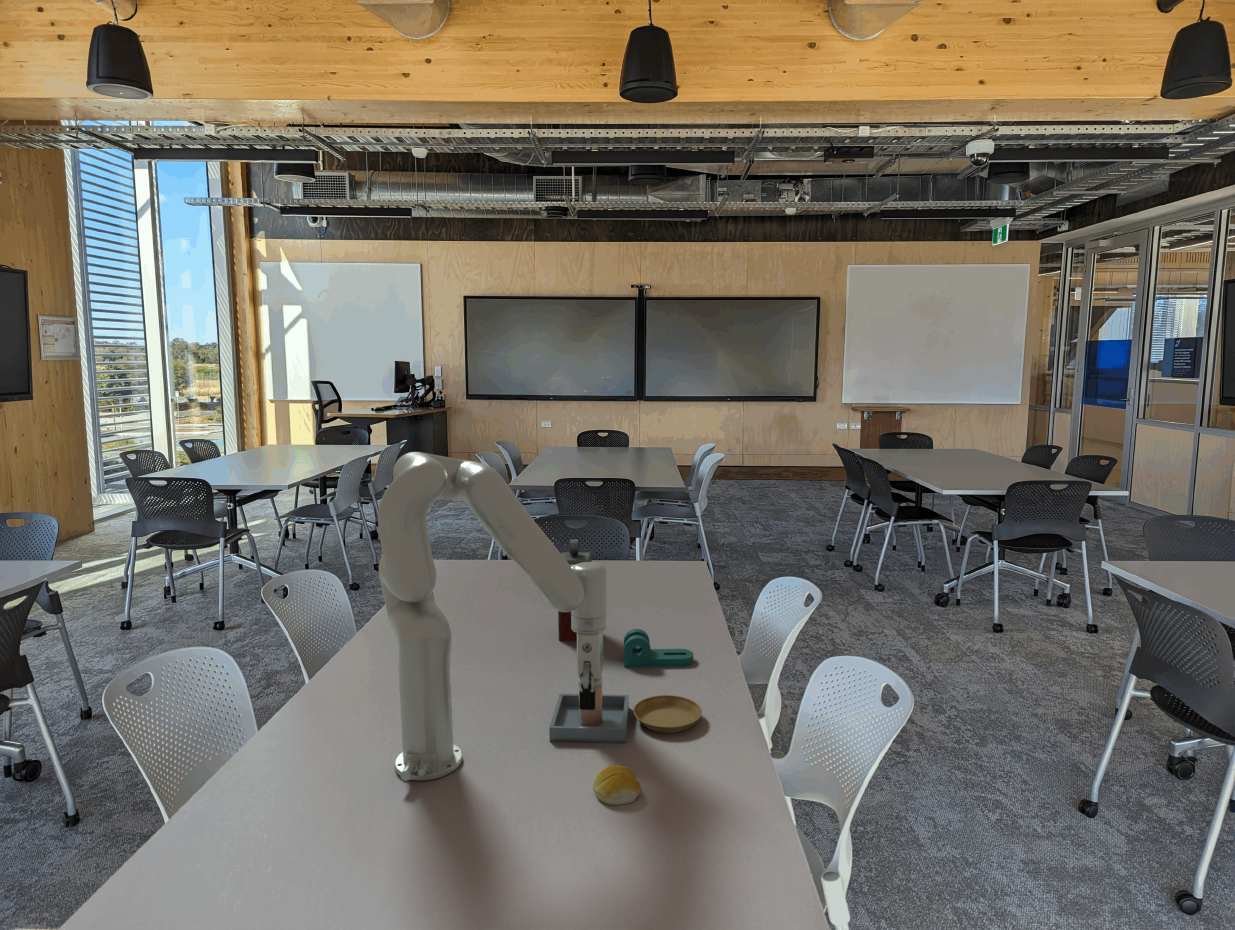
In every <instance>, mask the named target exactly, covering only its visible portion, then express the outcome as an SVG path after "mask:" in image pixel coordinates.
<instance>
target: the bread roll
mask: <svg viewBox="0 0 1235 930" xmlns="http://www.w3.org/2000/svg"><path fill="white" fill-rule="evenodd" d="M593 791H594V793H595V796H596V797H597V798H598V800H599V801H601V802H602V803H605V804H607V805H610V806H619V805H627V804H630V803H632V802H634V801H635V800H636V799H637V797H638V796H639V795H640V793H641V791H642V787H641V784H640V782H639V781H638V779H637V776H636V773H634V771H633V770H632V769H631V768H630V767H628V766H625V765H619V764H616V765H615V764H614V765H608V766H607V767H604V768H603V769H602V770H600V771H599V772H598V774H597V775H596V776H595V778H594V781H593Z"/></svg>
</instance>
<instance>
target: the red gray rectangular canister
mask: <svg viewBox="0 0 1235 930" xmlns="http://www.w3.org/2000/svg"><path fill="white" fill-rule="evenodd" d="M560 553H561V554H562V556H563V557H564V558H565V559H566V561H567V562H568V563H569V565H576V564H578V563H582V562H593V561H592V560H593V559H592V553H591V552H588V551H587V552H585V551H584V552H580V542H579V539H570V540H569V551H568V552H567V551H566V552H560ZM557 614H558V615H557V616H558V617H557V619H558V620H557V621H558V622H557V623H558V624H557V625H558V641H560V642H577V633H576V632H574V631H573V630H572V629H571V611H570V612H560V611H557Z"/></svg>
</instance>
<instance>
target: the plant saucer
mask: <svg viewBox="0 0 1235 930" xmlns="http://www.w3.org/2000/svg"><path fill="white" fill-rule="evenodd" d="M633 714H634V717H636V719H637V721H638V722H640V724H642V725H643V726H645V728H647V729H649V730H651V731H654V732H657V733H664V734H675V733H679V732H684V731H685V730H688V729H690V727H692V726H693V725H695V723H696V722H697V721H699V719H700V718H701V716H702V708H701V707H700V705H699V704H698V703H697V702H695V701H693V700H692V699H689V698H686V697H684V696H683V697H682V696H679V695H671V694H668V695H667V694H663V695H662V694H661V695H653V696H650V697H647V698H644V699H641V700H640V701H637V703H636V704H635V705H634V707H633Z"/></svg>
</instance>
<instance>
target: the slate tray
mask: <svg viewBox="0 0 1235 930" xmlns="http://www.w3.org/2000/svg"><path fill="white" fill-rule="evenodd" d="M629 695H630V694H603V693H602V718H603V721H602V723H601V724H600V725H598V726H594V727H587V726H583V725H581V724H580V723H579V693H559V694H558V698H557V701H556V704H555V708H554V710H553V711H554V712H553V714H552V718H551V722H550V724H549V727H548V728H549V733H548V734H549V742H555V743H558V742H559V743H560V742H561V743H562V742H563V743H603V744H604V743H605V744H606V743H607V744H617V743H618V744H626V743H627V733H628V722H629V711H630V710H629V709H630V707H629V706H630V702H629V701H630V700H629V699H630V698H629V697H630V696H629Z"/></svg>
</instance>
